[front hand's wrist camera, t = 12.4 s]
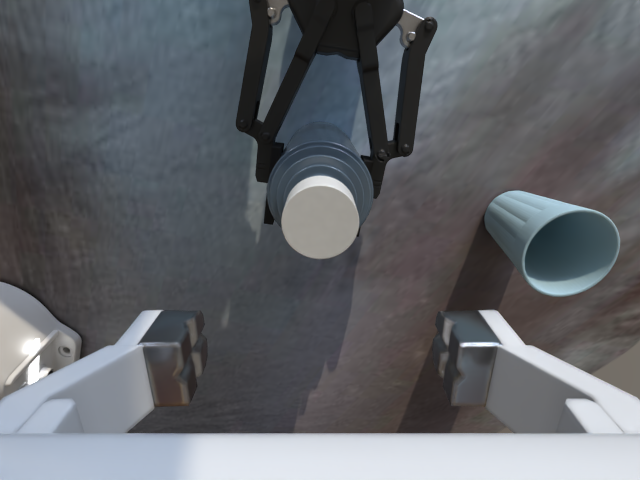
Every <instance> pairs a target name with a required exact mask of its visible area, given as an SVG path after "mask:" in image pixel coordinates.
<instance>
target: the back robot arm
mask: <svg viewBox="0 0 640 480" xmlns="http://www.w3.org/2000/svg"><path fill="white" fill-rule="evenodd" d="M249 4H250V11H251V18H252V30H251V36H250V42H249V48H248V54H247V60H246V66H245V72H244V78H243V83H242V89H241V95H240V101H239V107H238V113H237V119H236V127H237V129H238V130H239V131H241V132H245V133H247V134H248V135H250V136H252V137H254V138H255V139H256V141H257V143H258V152H257V164H256V179H257V182H264V183H268V180H269V177H270V174H271V172H272V170H273V168H274V166H275V164H276V163H277V161H278V159H279V158H280V156H281V155H282V153H283V149H284V143H278V142H275V139H276V136H277V134H278V131H279V129H280V127H281V125H282V123H283V121H284V119H285V117H286V115H287V113H288V111H289V108H290V106H291V104H292V102H293V100H294V98H295V96H296V94H297V92H298V90H299V88H300V86H301V83H302V81H303V79H304V77H305V75H306V73H307V71H308V69H309V67H310V65H311V63H312V61H313V59H314V57H315V55H316V53H317V54H321V55H335V54H338V55H340V56H342V57H344V58H346V59H351V60H356V61H357V67H358V72H359V77H360V83H361V90H362V97H363V104H364V110H365V117H366V124H367V131H368V137H369V144H370V151H371V154H370V157H369V156H364V155H361V159H362V160H363V162H364V164H365V165H366V167H367V169H368V171H369V173H370V175H371V179H372V182H373V198H375V199H376V198H377V197H378V195H379V194H380V189H381V185H382V180H383V175H384V171H385V166H386V163H387V162H388V161H389V160H390V159H392V158H396V157H401V156H403V157H407V156H409V155H410V154H411V153H412V151H413V145H414V137H415V130H416V122H417V114H418V107H419V99H420V91H421V84H422V76H423V68H424V61H425V54H426V52H427V49H428V47H429V45H430V43H431V41H432V39H433V37H434V34H435V32H436V30H437V21H436V20H435V19H434V18H433V17H427V18H425V19H423V18H421V17H419V16H417V15H415V14H413V13H411V12H409V11H407V10H405V9H404V3H403V0H249ZM288 7H290V9H291V11H292V13H293V15H294V17H295V19H296V21H297V23H298V26H299V28H300V30H301V32H302V34H303V37H302V39H301V41H300V43H299V45H298V47H297V50H296V52H295V55H294V58H293V60H292V62H291V64H290V66H289V68H288V71H287V73H286V75H285V77H284V79H283V81H282V84H281V86H280V88H279V90H278V92H277V94H276V97H275V99H274V101H273V103H272V105H271V107H270V110H269V112H268V114H267V116H266V118H265V120H264V123H263V122H261V121H259V120H258V119H257V116H258V111H259V105H260V100H261V95H262V89H263V84H264V79H265V73H266V68H267V63H268V58H269V52H270V47H271V42H272V33H273V26H274V25H277V24H279V22H280V21H281V15H282V12H283V10H284V9H285V8H288ZM395 25H396V26H397V27H398V28H399V29H400V33H401V35H400V44H401V45H402V46H403V47H404V48H405V50H404V53H403V57H402V64H401V73H400V82H399V91H398V100H397V109H396V118H395V127H394V136H393V140H392V141H388V140H387V132H386V125H385V117H384V109H383V102H382V94H381V86H380V79H379V71H378V68H379V64H378V55H377V48H376V46H377V45H378V44H379V43H380V42H381V41H382V39H383V38H384V37H385V36H386V35H387V34H388V33H389V32H390V31H391V30H392V29H393V28H394V26H395ZM273 222H274V217H273V216H272V213H271V211H270V208H269V205H268V199H267V198H266V208H265V218H264V224H272V225H273ZM359 232H360V228H359V229H358V233H357V235H356V236H357V237H359Z"/></svg>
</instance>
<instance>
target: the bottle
mask: <svg viewBox="0 0 640 480" xmlns="http://www.w3.org/2000/svg"><path fill="white" fill-rule="evenodd" d="M313 176H328V177H331V178H334V179H336V180H338V181H340V182H341V183H343V184H344V185H345V186H346V187H347V188H348V189H349V191H350V192H351V194H352V196H353V199H354V202H355V205H356V208H357V211H358V215H359V228H360V227H361V225H362V224H363V223H364V221H365V220H366V218H367V216H368V215H369V212H370V210H371V206H372V203H373V182H372V179H371V175H370V173H369V171H368V169H367V167H366V165H365V164H364V162H363V160H362V159H361V157H360V155H359V154H358V152H357V151H356V149H355V147H354V146H353V144H352V142H351V141H350V139H349V138H348V136H347V135H346V133H345V132H344V131H343V130H342V129H340V128H339V127H337V126H335V125H333V124H331V123H327V122H313V123H310V124H307V125H305V126H303V127H302V128H300V129H299V130H298V131H297V132H296V133H295V134H294V135H293V137H292V138H291V140H290V141H289V143H288V145H287V146H286V148H285V150H284V151H283V153H282V155H281V156H280V158H279V159H278V161H277V163H276V164H275V166H274V168H273V170H272V172H271V174H270V177H269V180H268V186H267V199H268V205H269V208H270V211H271V213H272V216H273V217H274V219H275V221H276V222H277V223H278V225H279V226H280V227H281V228H282V225H281V219H282V213H283V210H284V207H285V203H286V200H287V197H288V195H289V193H290V192H291V190H292V189H293V188H294V187H295V186H296V185H297V184H298V183H299V182H301V181H302V180H304V179H306V178H309V177H313Z"/></svg>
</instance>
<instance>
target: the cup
mask: <svg viewBox="0 0 640 480" xmlns="http://www.w3.org/2000/svg"><path fill="white" fill-rule="evenodd" d="M484 221H485V227H486V229H487V231H488V232H489V233H490V235H491V236H492V237H493V239H494V240H495V241H496V242H497V244H498V245H499V246H500V247H501V249H502V250H503V251H504V253H505V254H506V255H507V256H508V258H509V259H510V260H511V261H512V263H513V264H514V265H515V267H516V268H517V270H518V271H519V272H520V274H521V275H522V276H523V278H524V279H525V280H526V282H527V283H528V284H529V285H530V286H531V287H532V288H533V289H535V290H536V291H538V292H540V293H542V294H545V295H548V296H555V297H564V296H570V295H575V294H578V293H581V292H583V291H585V290H587V289H589V288H591V287H592V286H594V285H595V284H597V283H598V282H599V281H601V280H602V279H603V278H604V277H605V276H606V274H607V273H608V272H609V271H610V270H611V268H612V266H613V265H614V263H615V261H616V259H617V256H618V252H619V247H620V238H619V233H618V230H617V228H616V226H615V225H614V223H613V222H612V221H611V220H610V219H609V218H608V217H607V216H605V215H604V214H602V213H600V212H597V211H595V210H591V209H587V208H583V207H580V206H576V205H571V204H568V203H564V202H560V201H557V200H553V199H549V198H545V197H542V196H538V195H534V194H531V193H527V192H523V191H508V192H505V193H503V194H501V195H499V196H497V197H496V198H495V199H494V200H493V201H492V202H491V203H490V204H489V206H488V208H487V210H486V213H485V217H484Z"/></svg>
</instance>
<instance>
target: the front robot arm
mask: <svg viewBox="0 0 640 480" xmlns="http://www.w3.org/2000/svg"><path fill="white" fill-rule="evenodd" d="M204 325H205V323H204V317H203V314H202V312H201V311H183V310H145V311H142V312H141V313H140V315H139V316H138V317H137V318H136V320H135V321H134V322H133V323H132V324H131V326H130V327H129V328H128V329H127V330H126V332H125V333H124V334H123V335H122V337H121V338H120V339H119V340H118V341H117V343H116V344H115V345H114V346H106V347H104V348H102V349H100V350H98V351H96V352H94V353H92V354H90V355H88V356H86V357H84V358H82V359H80V352H81V344H82V340H81V337H80V336H79V335H78V334H77V333H76V332H75V331H73V330H72V329H70V328H69V327H67V326H65V325H64V324H62V323H60V322H59V321H58V320H57V319H56V318H55V317H54V316H53V315H52V314H51V313H50V312H49V311H48V310H47V308H46V307H45V306H44V305H43V304H41V303H40V302H39V301H38V300H37V299H35V298H34V297H33V296H31V295H30V294H28V293H26V292H25V291H23V290H21V289H19V288H17V287H14V286H12V285H9V284H6V283H3V282H0V480H640V400H639V399H638V398H637V397H635V396H633V395H631V394H628V393H626V392H624V391H622V390H620V389H618V388H616V387H614V386H612V385H610V384H608V383H606V382H604V381H602V380H600V379H598V378H596V377H594V376H592V375H590V374H588V373H586V372H584V371H582V370H580V369H578V368H576V367H574V366H572V365H570V364H568V363H566V362H564V361H562V360H560V359H558V358H556V357H554V356H552V355H550V354H548V353H546V352H544V351H542V350H540V349H538V348H536V347H534V346H526V345H525V344H524V343H523V341H522V340H521V339H520V338H519V337H518V335H517V334H516V333H515V332H514V331H513V329H512V328H511V327H510V326H509V324H508V323H507V322H506V321H505V320H504V318H503V317H502V316H501V315H500V314H499V312H498V311H496V310H475V311H439V312H438V314H437V316H436V323H435V325H436V327H437V330H438V332H439V333H438V334H437V335H436V337H435V338H434V339H433V348H432V351H433V361H434V366H435V369H436V371H437V374H438V375H440V376H441V377H443V378H444V380H443V388H444V390H445V393H446V395H447V397H448V400H449V402H450V404H451V406H479V407H485V408H486V409H487V410H488V411H489V412H490V413H491V414H492V415H494V416H495V417H496V418H497V419H498V420H499V421H501V422H502V423H503V424H504V425H505V426H506V427H507V428H509V429H510V430H511V431H512V432H513V433H127V432H128V431H129V430H130V429H132V428H133V427H134V426H135V425H136V424H137V423H138V422H140V421H141V420H142V419H143V418H144V417H145V416H147V415H148V414H149V413H150V412H151V411H152V410H154V409H155V407H161V406H189V405H190V402H191V400H192V398H193V395H194V393H195V390H196V388H197V380H196V378H197V377H199V376H200V375H202V374H203V371H204V369H205V366H206V361H207V350H208V346H207V339H206V338H205V337H204V335H203V334H202V333H201V332H202V330H203V327H204ZM68 348H69V349H68Z"/></svg>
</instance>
